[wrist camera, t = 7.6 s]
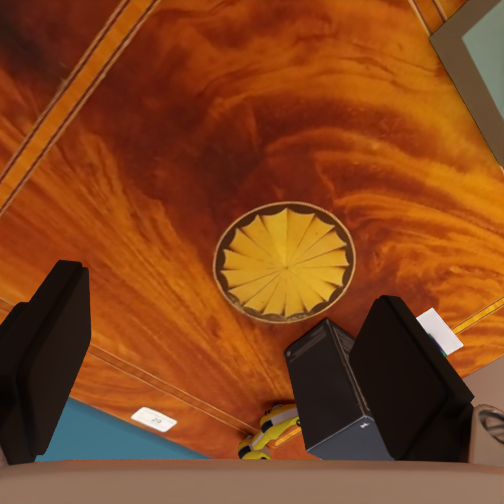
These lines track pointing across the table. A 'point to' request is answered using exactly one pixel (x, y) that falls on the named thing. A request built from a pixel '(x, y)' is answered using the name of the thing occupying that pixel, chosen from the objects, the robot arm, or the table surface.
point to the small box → (332, 398)
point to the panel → (477, 64)
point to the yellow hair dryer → (268, 431)
